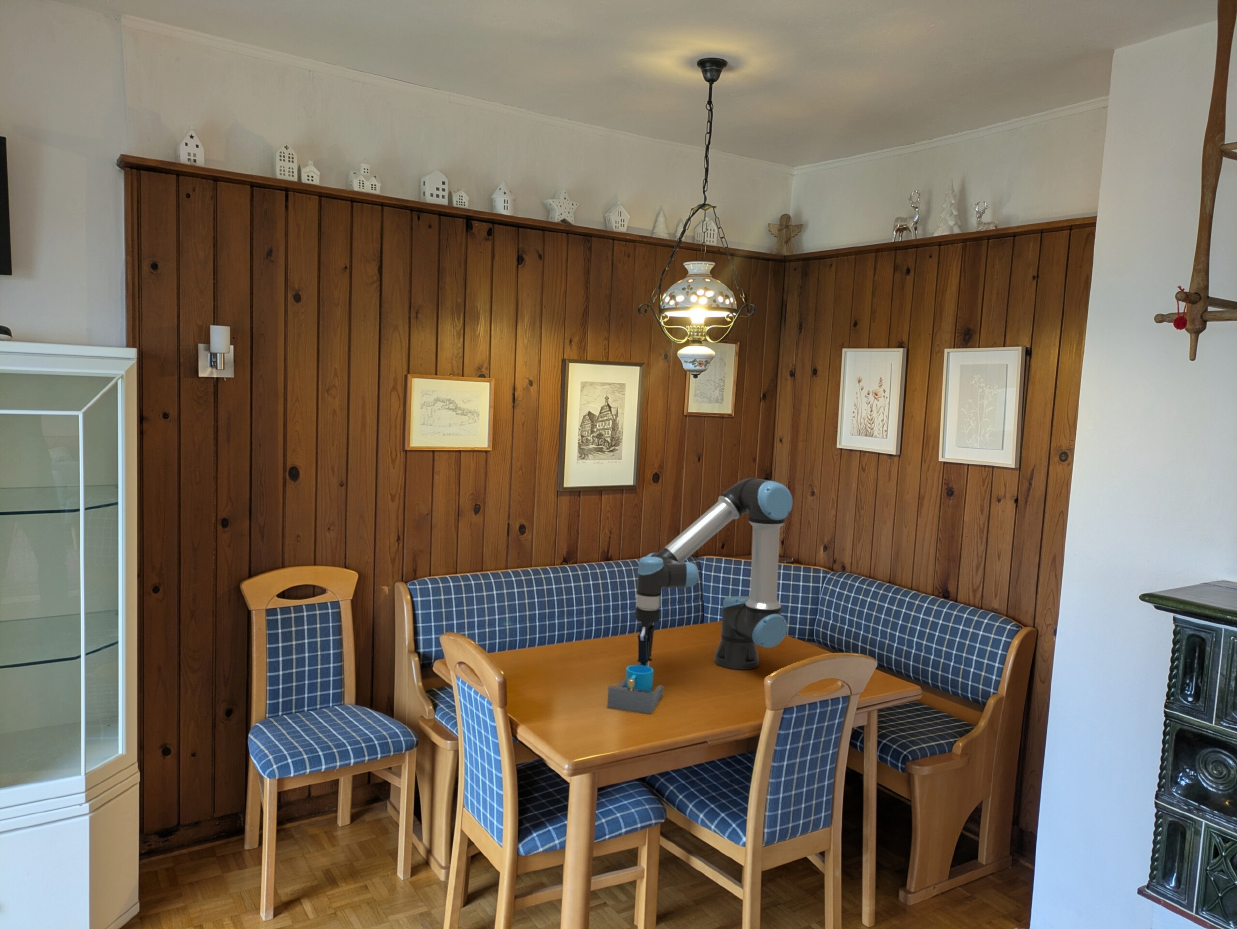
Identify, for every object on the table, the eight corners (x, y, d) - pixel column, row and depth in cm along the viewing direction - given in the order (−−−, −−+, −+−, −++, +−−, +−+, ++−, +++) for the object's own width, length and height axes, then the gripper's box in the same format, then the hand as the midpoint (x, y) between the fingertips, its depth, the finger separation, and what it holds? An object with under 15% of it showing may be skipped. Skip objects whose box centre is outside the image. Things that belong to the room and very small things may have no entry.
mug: (631, 688, 270) (632, 663, 269) (655, 693, 267) (657, 667, 266) (615, 700, 259) (616, 674, 258) (640, 706, 256) (642, 679, 255)
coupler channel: (662, 695, 266) (664, 666, 265) (651, 714, 250) (652, 683, 249) (621, 689, 269) (622, 661, 268) (607, 707, 253) (608, 677, 252)
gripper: (641, 601, 276) (636, 674, 278) (631, 610, 264) (626, 686, 266) (664, 604, 274) (659, 677, 277) (655, 614, 262) (650, 690, 264)
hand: (643, 681), depth 271 cm, fingers closed
